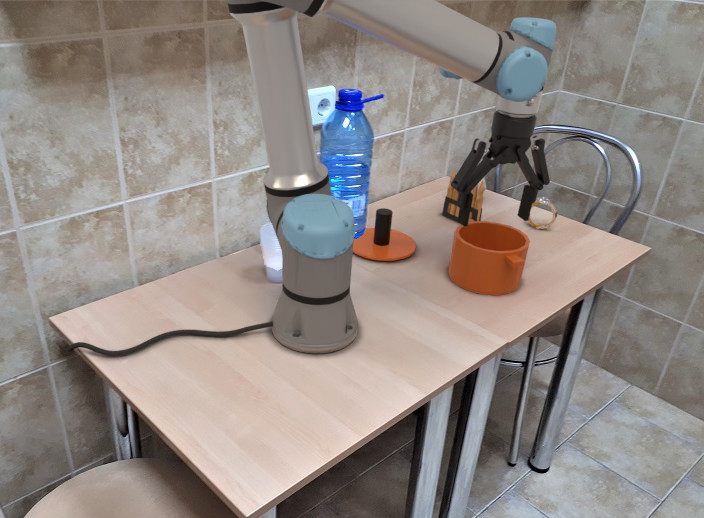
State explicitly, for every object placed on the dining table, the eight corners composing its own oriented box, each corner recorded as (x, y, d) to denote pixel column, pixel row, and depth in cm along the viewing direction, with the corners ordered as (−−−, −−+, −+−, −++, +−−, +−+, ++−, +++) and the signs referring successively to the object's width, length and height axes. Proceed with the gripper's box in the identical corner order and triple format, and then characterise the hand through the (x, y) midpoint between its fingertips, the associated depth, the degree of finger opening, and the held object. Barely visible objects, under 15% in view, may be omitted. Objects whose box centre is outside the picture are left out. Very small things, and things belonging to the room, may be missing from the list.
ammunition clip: (479, 228, 149) (488, 181, 143) (474, 229, 148) (483, 182, 142) (446, 213, 156) (453, 168, 150) (441, 214, 155) (448, 169, 149)
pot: (476, 306, 118) (485, 262, 113) (431, 259, 134) (436, 219, 129) (541, 297, 122) (553, 254, 117) (489, 252, 138) (497, 213, 133)
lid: (360, 266, 130) (363, 229, 126) (337, 235, 143) (339, 200, 138) (427, 259, 134) (432, 222, 130) (398, 229, 147) (402, 195, 142)
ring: (521, 226, 151) (528, 195, 147) (527, 222, 153) (534, 192, 149) (549, 234, 147) (557, 203, 143) (554, 230, 150) (562, 199, 145)
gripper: (464, 120, 104) (445, 233, 115) (587, 115, 111) (558, 223, 122) (444, 109, 110) (427, 218, 121) (561, 105, 117) (536, 208, 128)
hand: (492, 220), depth 121 cm, fingers open, 13 cm apart
